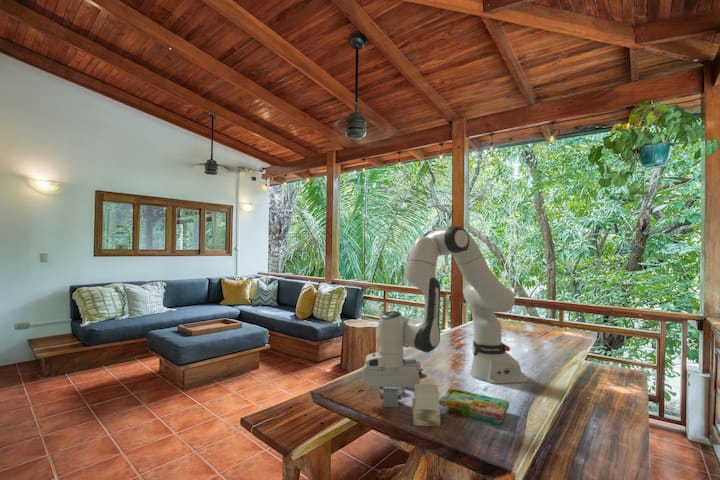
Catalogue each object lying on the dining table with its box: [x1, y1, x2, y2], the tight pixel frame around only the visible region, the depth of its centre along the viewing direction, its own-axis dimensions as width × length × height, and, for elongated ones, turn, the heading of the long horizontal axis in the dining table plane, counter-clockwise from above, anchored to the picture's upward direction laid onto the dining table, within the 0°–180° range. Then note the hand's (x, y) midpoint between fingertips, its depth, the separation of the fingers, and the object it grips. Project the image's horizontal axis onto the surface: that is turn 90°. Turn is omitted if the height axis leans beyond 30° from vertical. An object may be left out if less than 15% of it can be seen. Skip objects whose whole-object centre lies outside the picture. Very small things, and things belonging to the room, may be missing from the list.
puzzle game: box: [439, 387, 510, 426], centre depth 116 cm, size 12×5×20 cm
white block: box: [414, 383, 440, 410], centre depth 110 cm, size 7×7×5 cm
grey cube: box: [382, 387, 399, 408], centre depth 121 cm, size 5×5×5 cm
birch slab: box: [411, 397, 441, 427], centre depth 110 cm, size 8×8×5 cm
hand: (390, 398), depth 121 cm, fingers closed on grey cube, 5 cm apart
